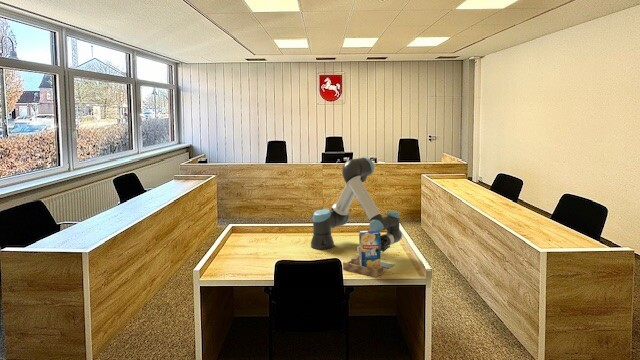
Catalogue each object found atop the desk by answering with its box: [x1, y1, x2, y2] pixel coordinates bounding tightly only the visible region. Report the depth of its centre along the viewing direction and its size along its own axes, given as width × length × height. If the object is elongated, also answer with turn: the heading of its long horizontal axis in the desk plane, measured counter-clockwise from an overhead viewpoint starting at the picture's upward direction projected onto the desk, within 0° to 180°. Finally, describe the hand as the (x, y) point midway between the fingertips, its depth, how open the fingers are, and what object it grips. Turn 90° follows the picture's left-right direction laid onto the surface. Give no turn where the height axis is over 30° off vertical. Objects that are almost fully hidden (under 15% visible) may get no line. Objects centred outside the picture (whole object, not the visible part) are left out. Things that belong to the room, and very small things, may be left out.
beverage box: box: [358, 230, 382, 270], centre depth 298 cm, size 7×11×22 cm, turn 96°
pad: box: [380, 261, 395, 269], centre depth 309 cm, size 16×7×1 cm, turn 54°
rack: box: [342, 260, 385, 278], centre depth 299 cm, size 22×8×4 cm, turn 54°
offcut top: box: [350, 254, 359, 264], centre depth 306 cm, size 3×7×3 cm, turn 161°
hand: (364, 250), depth 295 cm, fingers closed on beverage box, 8 cm apart
